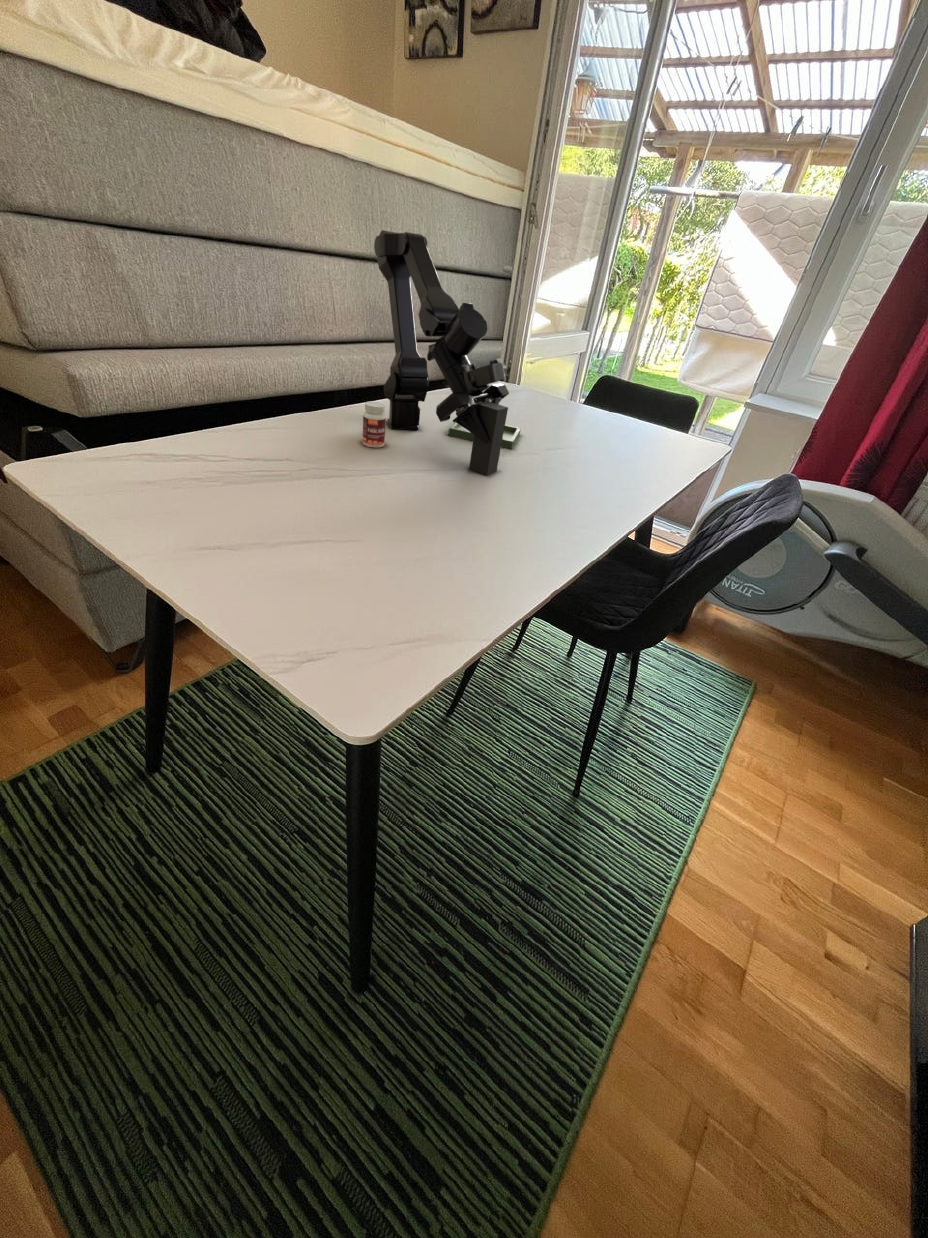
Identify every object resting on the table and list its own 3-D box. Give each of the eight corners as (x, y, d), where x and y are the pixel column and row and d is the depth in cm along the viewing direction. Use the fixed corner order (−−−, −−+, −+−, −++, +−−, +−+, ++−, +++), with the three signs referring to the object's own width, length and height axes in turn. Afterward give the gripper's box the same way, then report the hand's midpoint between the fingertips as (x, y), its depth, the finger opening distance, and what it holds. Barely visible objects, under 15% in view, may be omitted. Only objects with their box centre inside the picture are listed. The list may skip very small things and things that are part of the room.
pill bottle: (366, 448, 109) (367, 407, 104) (359, 440, 112) (360, 400, 107) (387, 447, 111) (389, 407, 106) (380, 440, 114) (381, 400, 109)
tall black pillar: (468, 468, 108) (478, 403, 100) (479, 464, 111) (489, 401, 103) (486, 475, 106) (498, 410, 98) (496, 471, 109) (508, 407, 101)
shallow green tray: (448, 435, 124) (449, 427, 123) (461, 422, 134) (462, 415, 133) (511, 449, 122) (512, 441, 121) (519, 435, 132) (520, 428, 131)
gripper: (456, 344, 89) (499, 427, 92) (509, 340, 103) (545, 412, 105) (417, 382, 97) (457, 457, 99) (471, 373, 110) (505, 439, 113)
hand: (493, 440), depth 104 cm, fingers closed on tall black pillar, 4 cm apart
